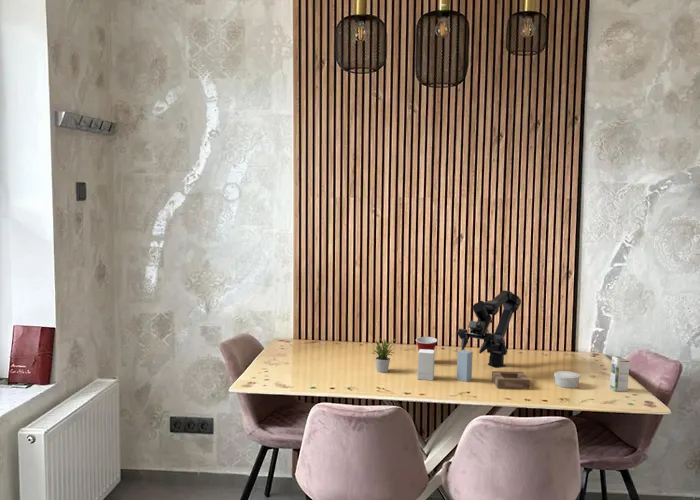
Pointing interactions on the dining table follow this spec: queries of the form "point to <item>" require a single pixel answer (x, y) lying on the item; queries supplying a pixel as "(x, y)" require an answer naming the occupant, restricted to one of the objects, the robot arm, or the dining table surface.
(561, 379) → the ramekin
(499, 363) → the robot arm
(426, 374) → the supplement box
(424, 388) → the dining table surface
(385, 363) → the house plant
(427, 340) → the plastic cup
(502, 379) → the walnut socket block
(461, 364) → the slate blue peg
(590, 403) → the dining table surface
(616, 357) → the syrup box
